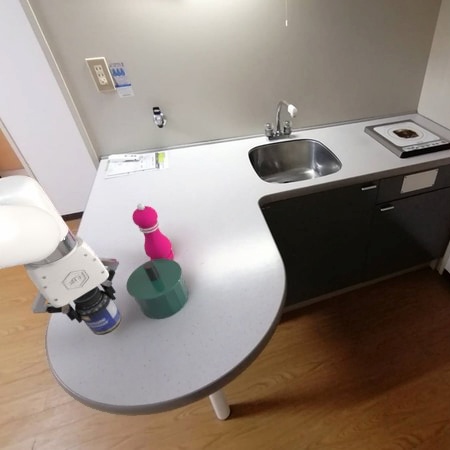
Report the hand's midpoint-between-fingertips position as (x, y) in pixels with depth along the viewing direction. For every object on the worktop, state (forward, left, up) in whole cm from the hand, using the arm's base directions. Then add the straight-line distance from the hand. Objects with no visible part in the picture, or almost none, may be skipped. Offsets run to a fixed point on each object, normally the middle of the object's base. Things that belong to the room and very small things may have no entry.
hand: (95, 306), depth 64 cm
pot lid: (+13, +1, -4) cm, 14 cm away
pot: (+13, +1, -12) cm, 18 cm away
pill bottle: (0, 0, -6) cm, 6 cm away
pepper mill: (+21, +15, -13) cm, 29 cm away
